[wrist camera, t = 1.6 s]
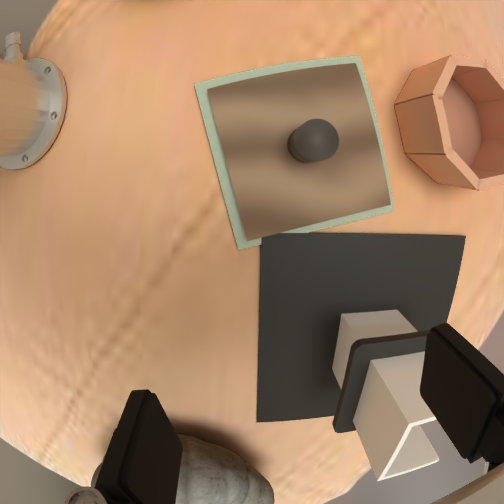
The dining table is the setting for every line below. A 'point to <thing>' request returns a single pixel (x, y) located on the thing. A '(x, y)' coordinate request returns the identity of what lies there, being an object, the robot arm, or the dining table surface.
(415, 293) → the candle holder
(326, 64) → the sage mat
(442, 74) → the terracotta bowl
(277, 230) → the walnut lid
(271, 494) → the gourd
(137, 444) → the robot arm
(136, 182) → the dining table surface
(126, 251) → the dining table surface
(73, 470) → the dining table surface
